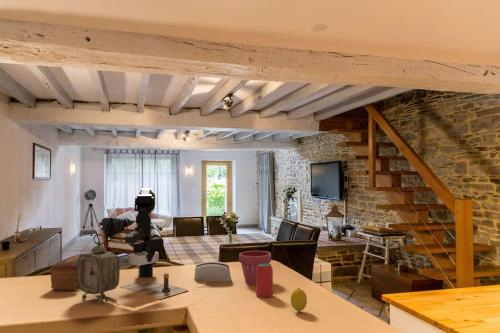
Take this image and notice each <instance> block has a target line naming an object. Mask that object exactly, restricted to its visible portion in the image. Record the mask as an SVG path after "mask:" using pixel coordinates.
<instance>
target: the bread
mask: <svg viewBox="0 0 500 333" xmlns="http://www.w3.org/2000/svg"><path fill="white" fill-rule="evenodd" d="M81 254H82V253H80V254H75V255H71V256H69V257H67V258H64V259H62V260H59V261H58V262H56V263H54V264H53V265H52V266H51V267H50V282H51V283H50V284H51V286H50V288H51V289H52V290H56V291H73V290H76V289H79V286H78V260H79V256H80V255H81Z"/></svg>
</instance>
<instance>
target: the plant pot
mask: <svg viewBox="0 0 500 333" xmlns="http://www.w3.org/2000/svg"><path fill="white" fill-rule="evenodd" d="M238 260H239V263H240V264H241V267H242V268H241V270H242V273H243V278H244V283H245V284H248V285H255V286H256V268H257V265H258V264H261V263H268V264H271V262H272V253H271V252H270V251H266V250H246V251H243V252H239V254H238Z"/></svg>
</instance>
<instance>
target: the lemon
mask: <svg viewBox="0 0 500 333" xmlns="http://www.w3.org/2000/svg"><path fill="white" fill-rule="evenodd" d="M307 304H308V297H307V294H306V292H305V291H304V290H303V289H301V288H300V287H297V288H295V289H294V290H293V291H292V292H291V294H290V305H291V307H292V308H293V309H294V310H295V311H297V312H298V313H300V312H301V311H303V310H305V308H306V307H307Z"/></svg>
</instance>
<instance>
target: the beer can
mask: <svg viewBox="0 0 500 333" xmlns="http://www.w3.org/2000/svg"><path fill="white" fill-rule="evenodd" d="M273 279H274V269H273V267H272V264H271V263H269V264H268V263H261V264H258V265H257V268H256V285H255V294H256V297H258V298H260V299H261V298H262V299H267V298H268V299H269V298H271V297H273V296H274V280H273Z"/></svg>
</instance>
